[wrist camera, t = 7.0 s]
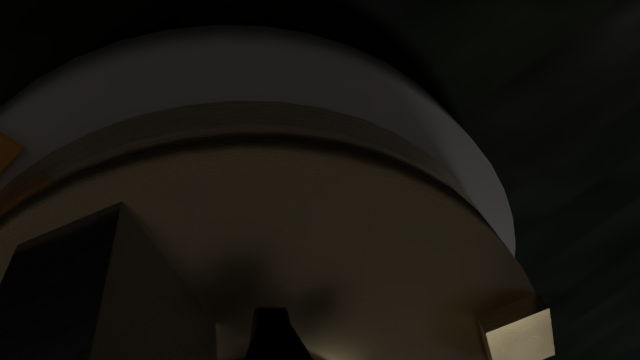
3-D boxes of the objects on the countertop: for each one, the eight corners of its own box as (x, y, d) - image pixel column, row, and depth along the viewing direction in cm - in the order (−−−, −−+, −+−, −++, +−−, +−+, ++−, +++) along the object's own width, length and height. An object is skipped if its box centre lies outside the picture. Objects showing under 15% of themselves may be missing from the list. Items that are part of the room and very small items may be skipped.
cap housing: (220, 480, 24) (222, 530, 23) (-217, 296, 15) (-273, 359, 13) (556, 276, 21) (589, 317, 19) (277, -152, 11) (293, -149, 9)
